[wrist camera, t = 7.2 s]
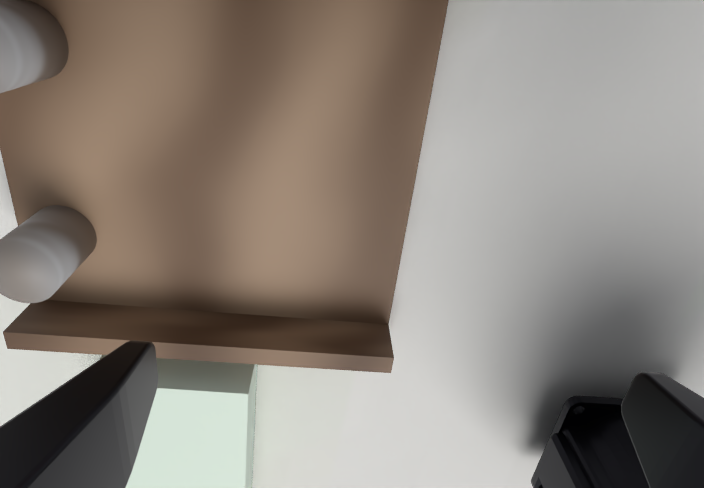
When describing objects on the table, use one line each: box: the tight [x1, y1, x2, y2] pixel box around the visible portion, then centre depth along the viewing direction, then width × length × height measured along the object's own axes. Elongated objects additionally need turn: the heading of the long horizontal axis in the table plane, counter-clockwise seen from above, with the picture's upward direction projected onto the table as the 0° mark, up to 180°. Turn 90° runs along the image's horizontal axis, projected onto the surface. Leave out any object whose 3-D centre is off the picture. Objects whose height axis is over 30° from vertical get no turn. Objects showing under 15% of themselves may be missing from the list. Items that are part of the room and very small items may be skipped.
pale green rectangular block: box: [100, 355, 257, 488], centre depth 23 cm, size 6×11×3 cm, turn 173°
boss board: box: [0, 0, 448, 373], centre depth 16 cm, size 15×15×3 cm
